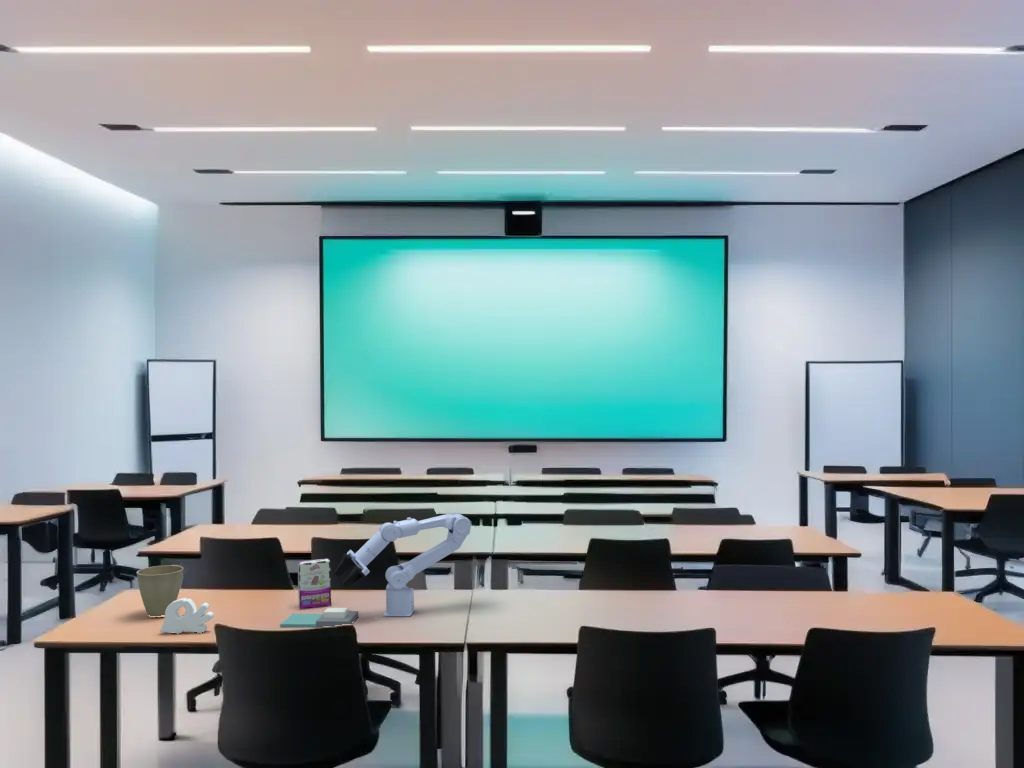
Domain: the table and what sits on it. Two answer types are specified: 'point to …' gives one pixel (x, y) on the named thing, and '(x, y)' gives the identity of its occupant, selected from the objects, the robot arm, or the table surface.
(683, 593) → the table surface
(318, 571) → the candy bar box
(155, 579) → the plant pot
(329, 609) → the tile
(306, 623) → the mat
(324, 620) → the plate
